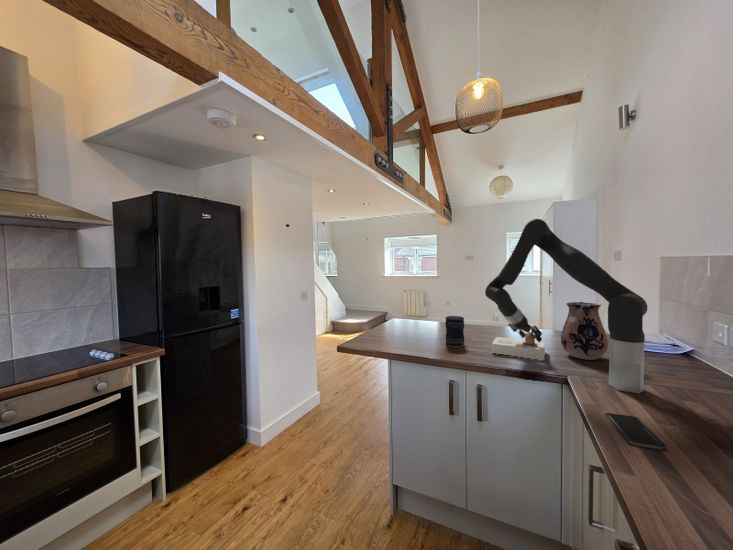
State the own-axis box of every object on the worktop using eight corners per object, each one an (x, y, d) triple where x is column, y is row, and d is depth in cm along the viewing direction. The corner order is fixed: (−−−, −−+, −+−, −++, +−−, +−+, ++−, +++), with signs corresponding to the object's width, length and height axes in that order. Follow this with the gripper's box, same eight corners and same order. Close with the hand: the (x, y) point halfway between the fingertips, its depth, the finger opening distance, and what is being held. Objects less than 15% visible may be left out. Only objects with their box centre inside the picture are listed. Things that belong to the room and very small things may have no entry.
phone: (627, 441, 73) (604, 412, 87) (627, 446, 73) (604, 415, 87) (669, 448, 70) (637, 416, 84) (669, 453, 70) (637, 420, 84)
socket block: (544, 360, 133) (544, 349, 133) (491, 353, 145) (491, 343, 144) (544, 352, 145) (544, 342, 145) (496, 346, 157) (496, 336, 156)
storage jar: (466, 343, 163) (466, 316, 162) (461, 348, 154) (461, 320, 154) (448, 341, 168) (448, 315, 167) (443, 345, 160) (442, 318, 159)
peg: (534, 352, 139) (534, 335, 139) (524, 351, 141) (524, 334, 141) (534, 350, 143) (535, 333, 142) (525, 348, 145) (525, 332, 144)
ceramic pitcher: (567, 361, 132) (568, 306, 130) (554, 348, 152) (554, 299, 150) (615, 365, 126) (616, 307, 125) (595, 350, 146) (595, 300, 145)
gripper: (532, 313, 132) (550, 335, 137) (506, 308, 145) (523, 329, 150) (524, 326, 130) (542, 348, 135) (498, 320, 143) (515, 341, 148)
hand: (532, 338), depth 142 cm, fingers open, 8 cm apart
